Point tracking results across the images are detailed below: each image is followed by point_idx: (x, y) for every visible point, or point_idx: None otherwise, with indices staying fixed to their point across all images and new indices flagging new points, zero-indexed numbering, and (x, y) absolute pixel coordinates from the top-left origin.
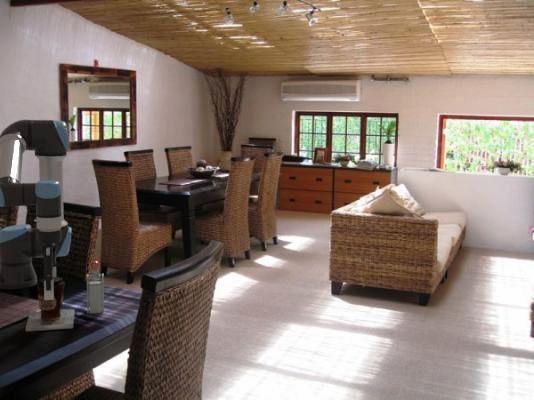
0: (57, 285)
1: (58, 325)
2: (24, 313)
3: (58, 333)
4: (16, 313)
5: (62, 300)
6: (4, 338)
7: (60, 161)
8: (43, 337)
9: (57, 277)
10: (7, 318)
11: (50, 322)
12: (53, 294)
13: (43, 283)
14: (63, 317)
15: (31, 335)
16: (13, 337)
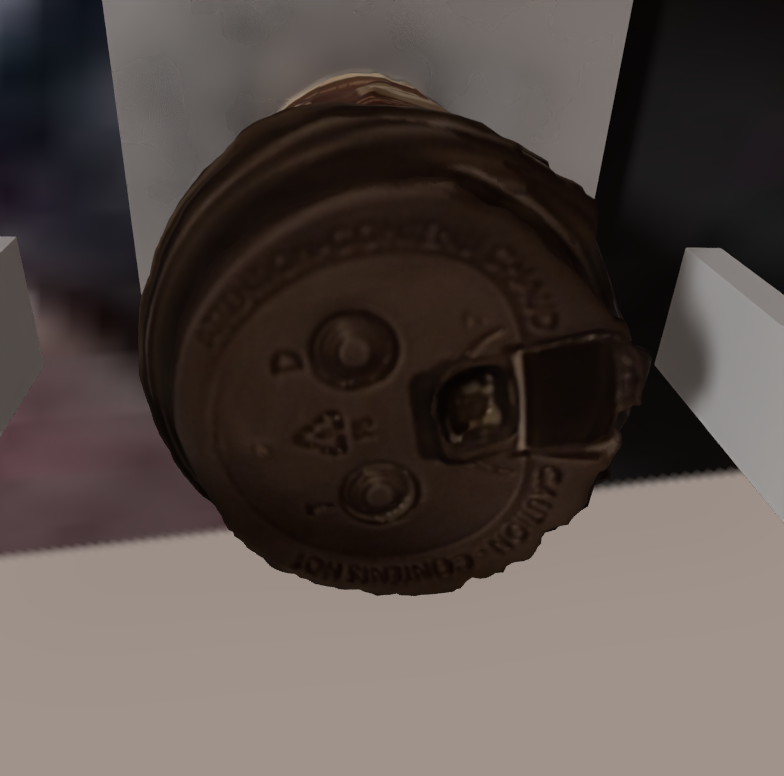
0: (601, 258)
1: (608, 101)
2: (76, 417)
3: (712, 92)
4: (74, 473)
5: (401, 92)
6: (633, 484)
7: None
8: (748, 226)
9: (244, 302)
10: (198, 517)
11: None
12: (748, 279)
13: (575, 511)
14: (395, 47)
15: (655, 321)
16: (640, 435)
